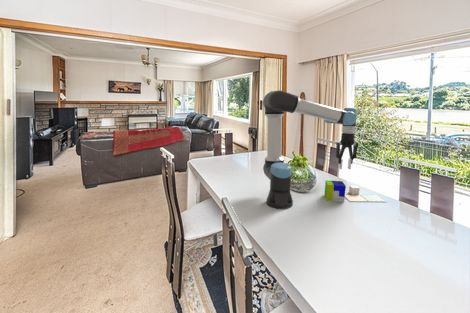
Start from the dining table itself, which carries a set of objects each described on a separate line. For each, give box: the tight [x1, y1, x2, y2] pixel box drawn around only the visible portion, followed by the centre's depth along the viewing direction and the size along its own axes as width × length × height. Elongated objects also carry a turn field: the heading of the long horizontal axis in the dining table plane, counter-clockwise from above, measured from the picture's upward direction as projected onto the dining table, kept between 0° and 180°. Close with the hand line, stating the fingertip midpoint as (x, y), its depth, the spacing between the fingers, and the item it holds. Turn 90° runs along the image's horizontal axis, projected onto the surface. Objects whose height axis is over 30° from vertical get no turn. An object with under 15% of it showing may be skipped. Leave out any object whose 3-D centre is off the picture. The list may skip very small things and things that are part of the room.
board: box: [345, 194, 387, 203], centre depth 157 cm, size 22×11×1 cm, turn 89°
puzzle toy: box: [324, 180, 347, 203], centre depth 157 cm, size 10×10×10 cm
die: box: [348, 185, 361, 195], centre depth 166 cm, size 5×5×5 cm
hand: (344, 168), depth 164 cm, fingers open, 5 cm apart
